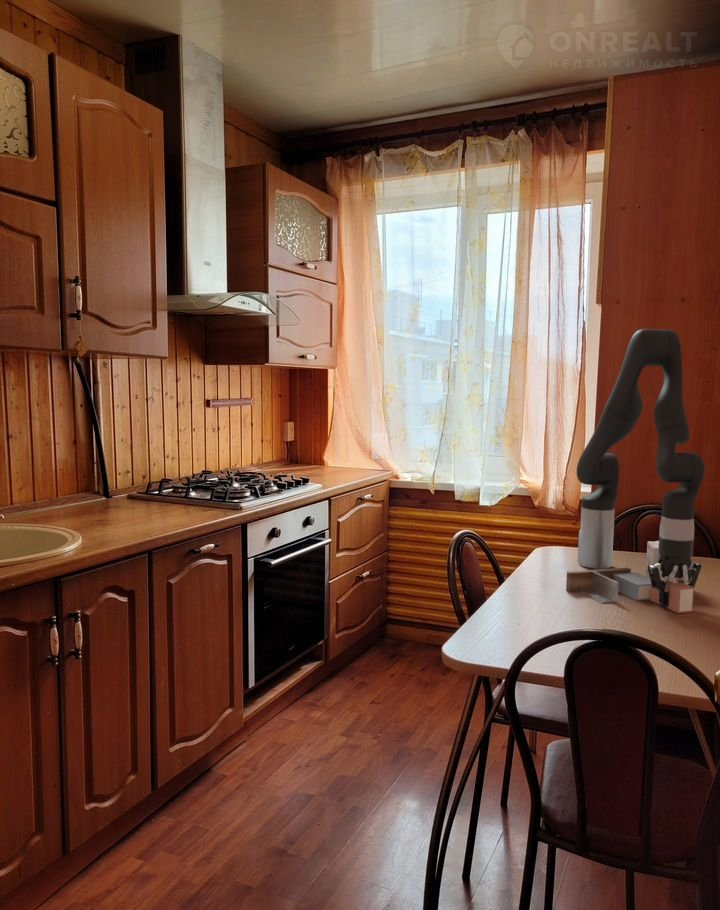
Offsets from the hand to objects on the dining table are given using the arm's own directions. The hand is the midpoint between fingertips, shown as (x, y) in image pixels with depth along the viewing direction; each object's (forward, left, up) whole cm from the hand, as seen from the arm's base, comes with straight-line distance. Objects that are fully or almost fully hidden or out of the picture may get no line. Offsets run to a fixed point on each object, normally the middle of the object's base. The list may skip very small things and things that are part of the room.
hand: (672, 605), depth 169 cm
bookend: (-11, -13, 0) cm, 17 cm away
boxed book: (0, 0, 0) cm, 1 cm away
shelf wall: (-17, -8, 0) cm, 19 cm away
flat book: (-11, -2, 0) cm, 11 cm away
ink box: (-14, +9, -1) cm, 17 cm away
